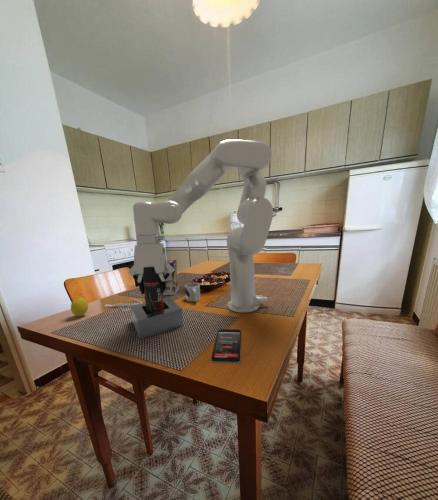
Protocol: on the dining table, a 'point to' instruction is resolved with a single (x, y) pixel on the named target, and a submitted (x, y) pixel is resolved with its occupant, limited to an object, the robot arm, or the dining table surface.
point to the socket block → (156, 318)
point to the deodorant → (152, 289)
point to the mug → (192, 292)
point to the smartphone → (227, 346)
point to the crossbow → (121, 305)
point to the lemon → (79, 306)
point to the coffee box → (171, 279)
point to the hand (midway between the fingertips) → (153, 291)
